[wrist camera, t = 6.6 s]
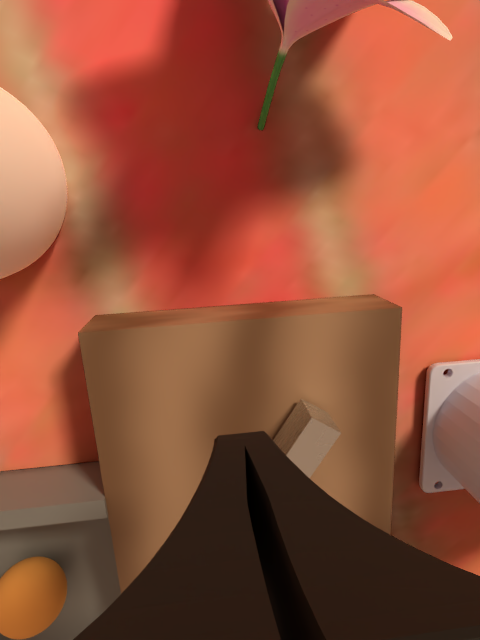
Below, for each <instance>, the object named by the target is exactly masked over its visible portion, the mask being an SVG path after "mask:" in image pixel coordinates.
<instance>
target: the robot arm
mask: <svg viewBox="0 0 480 640" xmlns="http://www.w3.org/2000/svg"><path fill="white" fill-rule="evenodd" d="M446 369H448V373H447V374H445V375H443V373H444V371H445V370H446ZM438 481H439V482H438ZM436 482H438V483H437V484H435V483H436ZM419 486H420V488H421V489H422V490H423V491H424V492H426V493H434V492H442V491H451V490H459V489H466V490H467V491H468V492H469V493H470V494H471V495H472V496H473V497H474V498H475V499H476V500H477V501H478V503H479V504H480V359H476V360H465V361H454V362H443V363H435V364H432V365H431V366H429V368H428V369H427V375H426V389H425V404H424V418H423V432H422V447H421V461H420V475H419ZM73 640H480V576H478V575H476V574H473V573H471V572H468V571H465V570H463V569H460V568H458V567H455V566H453V565H450V564H448V563H446V562H444V561H441V560H439V559H437V558H435V557H433V556H431V555H429V554H426V553H424V552H422V551H420V550H418V549H416V548H414V547H412V546H410V545H408V544H406V543H404V542H402V541H400V540H398V539H397V538H395V537H393V536H391V535H389V534H388V533H386V532H384V531H383V530H381V529H379V528H377V527H376V526H374V525H372V524H370V523H369V522H367V521H366V520H364V519H362V518H361V517H359V516H358V515H356V514H355V513H353V512H352V511H351V510H349V509H348V508H346V507H345V506H343V505H342V504H340V503H339V502H338V501H336V500H335V499H334V498H332V497H331V496H330V495H328V494H327V493H326V492H325V491H324V490H322V489H321V488H320V487H319V486H318V485H317V484H315V483H314V482H313V481H312V480H311V479H310V478H309V477H308V476H307V475H305V474H304V473H303V472H302V471H301V470H300V469H299V468H298V467H297V466H296V465H295V464H294V463H293V462H292V461H291V460H290V459H289V458H288V457H287V456H286V455H285V453H284V452H283V451H282V450H281V449H280V448H279V447H278V446H277V445H276V443H275V442H274V441H273V440H272V439H271V438H270V436H269V435H268V434H267V433H266V432H265V431H258V432H248V433H238V434H228V435H218V436H217V437H216V438H215V439H214V446H213V450H212V453H211V457H210V459H209V462H208V465H207V467H206V470H205V472H204V474H203V477H202V479H201V482H200V484H199V486H198V488H197V490H196V492H195V493H194V495H193V497H192V499H191V501H190V503H189V505H188V507H187V508H186V510H185V512H184V514H183V515H182V517H181V519H180V520H179V522H178V523H177V525H176V526H175V528H174V529H173V531H172V532H171V534H170V535H169V537H168V538H167V540H166V541H165V542H164V544H163V545H162V546H161V547H160V549H159V550H158V551H157V553H156V554H155V555H154V557H153V558H152V559H151V561H150V562H149V563H148V564H147V566H146V567H145V568H144V569H143V570H142V572H141V573H140V574H139V575H138V576H137V577H136V578H135V579H134V580H133V581H132V583H131V584H130V585H129V586H128V587H127V588H126V589H125V590H124V591H123V592H122V593H121V594H120V596H119V597H118V598H117V599H116V600H115V601H114V602H113V603H112V604H111V605H110V606H109V607H108V608H107V609H106V610H105V611H104V612H103V613H102V614H101V615H100V616H99V617H98V618H97V619H95V620H94V621H93V622H92V623H91V624H90V625H89V626H88V627H86V628H85V629H84V630H83V631H82V632H81V633H80V634H79V635H78V636H76V637H75V638H74V639H73Z"/></svg>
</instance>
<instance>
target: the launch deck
mask: <svg viewBox="0 0 480 640" xmlns="http://www.w3.org/2000/svg"><path fill="white" fill-rule="evenodd" d="M401 321H402V307H400V306H398V305H396V304H394V303H391V302H389V301H387V300H385V299H383V298H381V297H378V296H376V295H374V294H373V295H360V296H346V297H333V298H320V299H306V300H293V301H280V302H267V303H253V304H240V305H227V306H213V307H200V308H187V309H173V310H160V311H147V312H134V313H120V314H107V315H95V316H94V317H93V318H92V319H91V320H90V321H89V322H88V323H87V324H86V325H85V326H84V327H83V328H82V329H81V330H80V331H79V332H78V336H79V342H80V348H81V354H82V360H83V366H84V372H85V378H86V385H87V391H88V397H89V403H90V409H91V415H92V421H93V427H94V433H95V439H96V445H97V451H98V457H99V463H100V469H101V475H102V481H103V487H104V494H105V500H106V506H107V512H108V518H109V524H110V530H111V536H112V542H113V548H114V554H115V560H116V566H117V572H118V578H119V584H120V590H121V593H122V592H123V591H124V590H125V589H126V588H127V587H128V586H129V585H130V584H131V583H132V581H133V580H134V579H135V578H136V577H137V576H138V575H139V574H140V573H141V572H142V570H143V569H144V568H145V567H146V566H147V564H148V563H149V562H150V561H151V559H152V558H153V557H154V555H155V554H156V553H157V551H158V550H159V549H160V547H161V546H162V545H163V544H164V542H165V541H166V540H167V538H168V537H169V535H170V534H171V532H172V531H173V529H174V528H175V526H176V525H177V523H178V522H179V520H180V519H181V517H182V515H183V514H184V512H185V510H186V508H187V507H188V505H189V503H190V501H191V499H192V497H193V495H194V493H195V492H196V490H197V488H198V486H199V484H200V482H201V479H202V477H203V474H204V472H205V470H206V467H207V465H208V462H209V459H210V457H211V453H212V450H213V446H214V439H215V438H216V437H217V436H218V435H228V434H238V433H248V432H258V431H265V432H266V433H267V434H268V435H269V436H270V438H271V439H272V440H274V438H275V437H276V435H277V434H278V432H279V431H280V429H281V428H282V426H283V425H284V423H285V422H286V420H287V419H288V417H289V416H290V414H291V413H292V411H293V410H294V408H295V407H296V405H297V404H298V402H299V401H300V399H303V400H305V401H307V402H309V403H311V404H313V405H315V406H316V407H318V408H320V409H322V410H324V411H326V412H328V414H329V415H330V417H331V418H332V420H333V421H334V423H335V424H336V426H337V427H338V429H339V430H340V432H341V434H340V435H339V437H338V438H337V440H336V441H335V443H334V444H333V446H332V447H331V448H330V450H329V451H328V453H327V454H326V456H325V457H324V458H323V460H322V461H321V463H320V464H319V466H318V467H317V468H316V470H315V471H314V473H313V474H312V476H311V477H310V479H311V480H312V481H313V482H314V483H315V484H317V485H318V486H319V487H320V488H321V489H322V490H324V491H325V492H326V493H327V494H328V495H330V496H331V497H332V498H334V499H335V500H336V501H338V502H339V503H340V504H342V505H343V506H345V507H346V508H348V509H349V510H351V511H352V512H353V513H355V514H356V515H358V516H359V517H361V518H362V519H364V520H366V521H367V522H369V523H370V524H372V525H374V526H376V527H377V528H379V529H381V530H383V531H384V532H386V533H388V534H389V535H391V517H392V498H393V478H394V458H395V439H396V419H397V399H398V380H399V360H400V340H401Z"/></svg>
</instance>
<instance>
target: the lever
mask: <svg viewBox="0 0 480 640" xmlns="http://www.w3.org/2000/svg"><path fill="white" fill-rule="evenodd" d="M340 434H341V432H340V430H339V429H338V427H337V426H336V424H335V423H334V421H333V420H332V418H331V417H330V415H329V414H328V412H326V411H324V410H322V409H320V408H318V407H316V406H315V405H313V404H311V403H309V402H307V401H305V400H303V399H300V401H299V402H298V404H297V405H296V407H295V408H294V410H293V411H292V413H291V414H290V416H289V417H288V419H287V420H286V422H285V423H284V425H283V426H282V428H281V429H280V431H279V432H278V434H277V435H276V437H275V438H274V440H273V441H274V442H275V443H276V445H277V446H278V447H279V448H280V449H281V450H282V451H283V452H284V453H285V455H286V456H287V457H288V458H289V459H290V460H291V461H292V462H293V463H294V464H295V465H296V466H297V467H298V468H299V469H300V470H301V471H302V472H303V473H304V474H305V475H307V476H308V477H309V478H310V477H311V476H312V474H313V473H314V471H315V470H316V468H317V467H318V466H319V464H320V463H321V461H322V460H323V458H324V457H325V456H326V454H327V453H328V451H329V450H330V448H331V447H332V446H333V444H334V443H335V441H336V440H337V438H338V437H339V435H340Z"/></svg>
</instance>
